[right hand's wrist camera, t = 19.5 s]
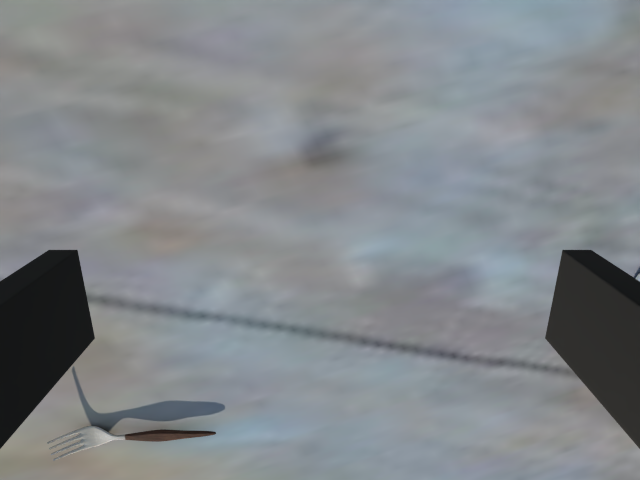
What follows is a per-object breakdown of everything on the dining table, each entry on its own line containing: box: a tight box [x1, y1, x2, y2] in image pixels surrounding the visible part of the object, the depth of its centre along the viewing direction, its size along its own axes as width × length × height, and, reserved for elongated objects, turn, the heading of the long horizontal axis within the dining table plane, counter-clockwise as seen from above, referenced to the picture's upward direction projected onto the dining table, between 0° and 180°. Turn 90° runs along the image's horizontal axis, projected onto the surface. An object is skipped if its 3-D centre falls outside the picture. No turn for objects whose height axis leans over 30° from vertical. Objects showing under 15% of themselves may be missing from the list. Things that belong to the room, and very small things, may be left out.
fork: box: [47, 426, 216, 461], centre depth 45 cm, size 3×16×2 cm, turn 93°
